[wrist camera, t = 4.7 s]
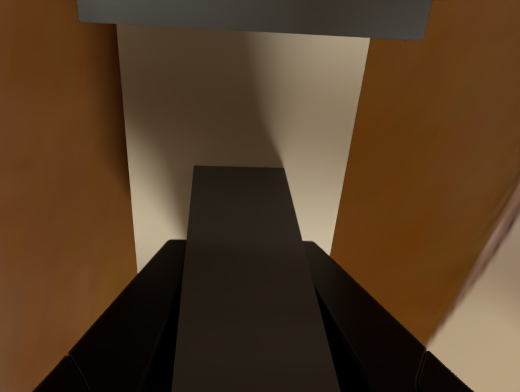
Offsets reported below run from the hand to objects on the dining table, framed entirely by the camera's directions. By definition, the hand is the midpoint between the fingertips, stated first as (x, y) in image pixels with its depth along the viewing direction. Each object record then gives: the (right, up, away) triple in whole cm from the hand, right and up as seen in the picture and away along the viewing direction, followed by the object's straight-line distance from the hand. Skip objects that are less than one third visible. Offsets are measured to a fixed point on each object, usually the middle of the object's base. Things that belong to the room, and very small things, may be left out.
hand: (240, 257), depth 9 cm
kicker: (0, +4, +3) cm, 4 cm away
